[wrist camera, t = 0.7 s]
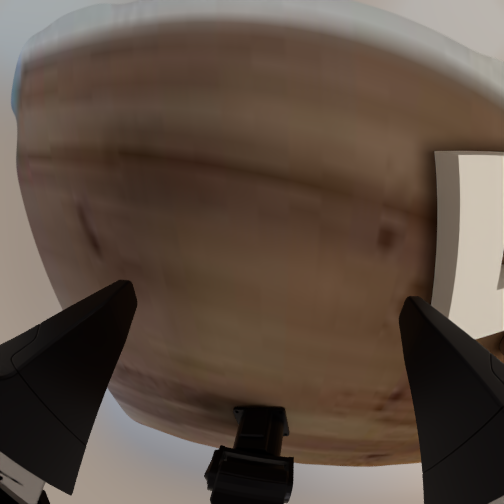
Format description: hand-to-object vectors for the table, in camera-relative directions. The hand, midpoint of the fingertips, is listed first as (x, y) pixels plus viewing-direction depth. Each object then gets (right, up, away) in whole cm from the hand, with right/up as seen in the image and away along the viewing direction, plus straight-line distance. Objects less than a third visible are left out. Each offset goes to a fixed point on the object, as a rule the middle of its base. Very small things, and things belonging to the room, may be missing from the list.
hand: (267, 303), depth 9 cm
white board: (+23, +3, +10) cm, 25 cm away
